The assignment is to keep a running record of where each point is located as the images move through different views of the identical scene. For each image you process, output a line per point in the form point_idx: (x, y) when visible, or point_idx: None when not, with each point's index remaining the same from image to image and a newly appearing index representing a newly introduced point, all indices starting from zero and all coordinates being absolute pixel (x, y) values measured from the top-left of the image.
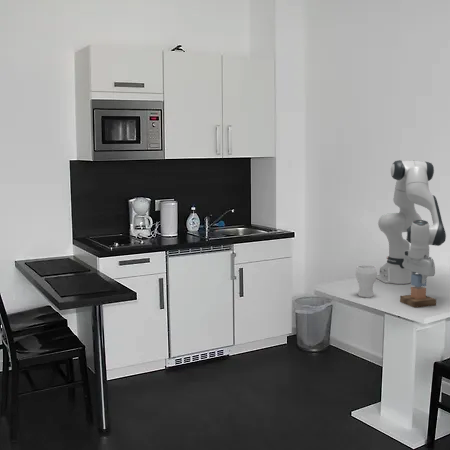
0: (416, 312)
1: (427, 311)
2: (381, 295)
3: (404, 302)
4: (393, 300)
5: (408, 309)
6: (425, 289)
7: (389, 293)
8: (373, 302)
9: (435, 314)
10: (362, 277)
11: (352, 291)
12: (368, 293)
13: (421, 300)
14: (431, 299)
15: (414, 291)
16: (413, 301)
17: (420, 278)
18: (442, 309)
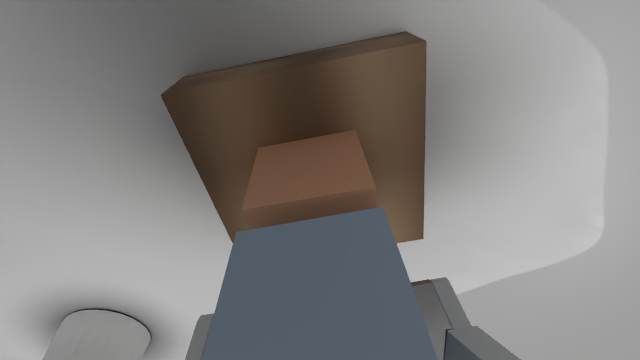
0: (496, 233)
1: (513, 172)
2: (86, 277)
3: None
4: (214, 256)
5: (424, 248)
6: (373, 184)
7: (5, 226)
8: None
9: (597, 155)
10: None
11: (24, 356)
12: (137, 351)
13: (410, 189)
14: (410, 94)
15: None
16: (402, 239)
17: None
18: (535, 39)
